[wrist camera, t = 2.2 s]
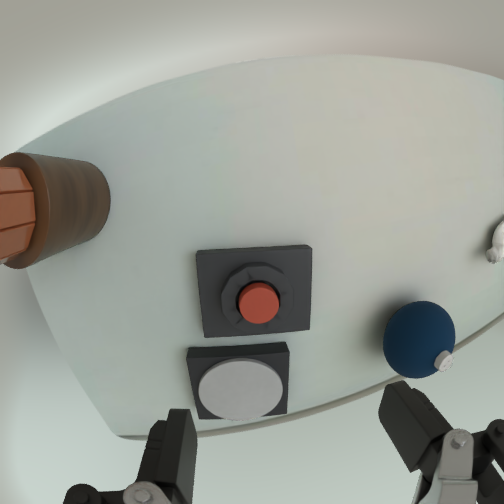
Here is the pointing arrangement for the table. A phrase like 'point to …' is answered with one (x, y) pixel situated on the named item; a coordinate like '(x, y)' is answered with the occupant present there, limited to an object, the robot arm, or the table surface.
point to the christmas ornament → (419, 340)
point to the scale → (239, 380)
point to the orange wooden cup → (15, 212)
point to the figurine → (497, 245)
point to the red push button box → (248, 272)
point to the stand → (60, 204)
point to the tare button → (258, 303)
